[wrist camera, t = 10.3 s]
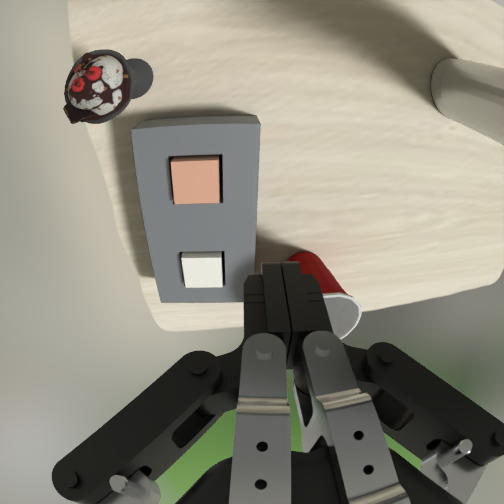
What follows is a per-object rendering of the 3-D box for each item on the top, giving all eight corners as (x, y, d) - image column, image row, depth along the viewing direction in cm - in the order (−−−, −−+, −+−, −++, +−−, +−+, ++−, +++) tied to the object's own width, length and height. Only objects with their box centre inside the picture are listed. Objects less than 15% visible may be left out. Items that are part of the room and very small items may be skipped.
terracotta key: (219, 149, 32) (218, 160, 28) (220, 187, 34) (219, 203, 31) (177, 150, 31) (170, 162, 28) (180, 189, 34) (174, 204, 31)
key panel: (256, 115, 31) (260, 123, 27) (250, 278, 45) (253, 301, 41) (144, 120, 30) (131, 129, 26) (166, 279, 44) (161, 302, 40)
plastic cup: (321, 296, 49) (339, 354, 39) (259, 287, 47) (267, 350, 37) (349, 244, 43) (379, 301, 33) (281, 230, 41) (298, 290, 31)
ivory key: (221, 238, 39) (221, 257, 35) (222, 267, 41) (222, 287, 38) (185, 239, 38) (181, 258, 35) (188, 268, 41) (185, 287, 38)
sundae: (154, 43, 25) (100, 33, 13) (165, 96, 29) (120, 122, 17) (101, 62, 25) (25, 72, 13) (113, 112, 29) (47, 150, 17)
